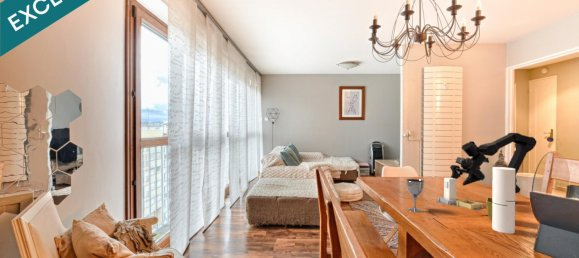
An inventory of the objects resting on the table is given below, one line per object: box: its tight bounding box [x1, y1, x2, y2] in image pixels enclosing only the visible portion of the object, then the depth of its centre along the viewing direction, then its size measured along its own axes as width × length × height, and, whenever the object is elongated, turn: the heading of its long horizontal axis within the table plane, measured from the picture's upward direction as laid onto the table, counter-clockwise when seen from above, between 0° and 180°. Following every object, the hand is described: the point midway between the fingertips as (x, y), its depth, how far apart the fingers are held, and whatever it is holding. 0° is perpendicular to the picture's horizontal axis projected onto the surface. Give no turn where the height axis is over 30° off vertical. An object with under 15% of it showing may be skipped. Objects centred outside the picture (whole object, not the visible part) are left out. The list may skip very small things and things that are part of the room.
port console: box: [435, 196, 487, 211], centre depth 142 cm, size 12×20×3 cm, turn 41°
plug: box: [443, 177, 457, 200], centre depth 145 cm, size 4×4×13 cm
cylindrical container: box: [491, 166, 516, 235], centre depth 108 cm, size 7×7×25 cm
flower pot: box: [485, 196, 492, 222], centre depth 119 cm, size 9×9×9 cm
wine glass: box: [406, 178, 425, 213], centre depth 134 cm, size 8×8×15 cm
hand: (456, 183), depth 145 cm, fingers open, 9 cm apart
